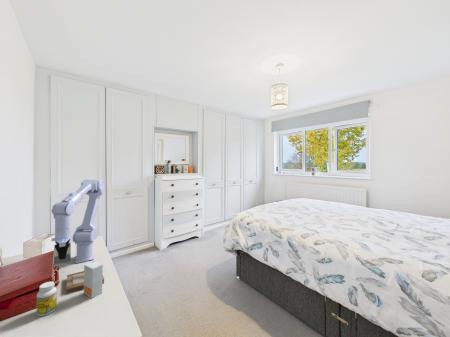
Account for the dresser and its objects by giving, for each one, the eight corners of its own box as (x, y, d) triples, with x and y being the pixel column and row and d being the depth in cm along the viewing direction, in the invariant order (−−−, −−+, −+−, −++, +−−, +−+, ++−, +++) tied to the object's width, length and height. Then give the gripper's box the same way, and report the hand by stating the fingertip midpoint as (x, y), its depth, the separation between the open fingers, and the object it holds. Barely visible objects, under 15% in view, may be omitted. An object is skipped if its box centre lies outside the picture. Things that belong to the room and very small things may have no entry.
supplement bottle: (59, 304, 75) (60, 279, 75) (50, 315, 70) (51, 288, 69) (42, 306, 74) (43, 280, 73) (32, 317, 68) (32, 289, 68)
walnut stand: (66, 279, 91) (66, 274, 91) (100, 270, 99) (100, 266, 99) (66, 294, 81) (66, 289, 81) (103, 283, 89) (103, 278, 89)
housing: (70, 257, 97) (70, 243, 97) (70, 261, 94) (70, 246, 94) (54, 261, 93) (54, 246, 93) (53, 264, 90) (53, 249, 90)
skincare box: (83, 294, 81) (83, 264, 81) (94, 288, 85) (94, 260, 85) (91, 299, 78) (92, 268, 78) (102, 293, 82) (103, 264, 82)
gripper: (52, 225, 96) (52, 253, 97) (50, 234, 85) (49, 265, 85) (71, 223, 101) (70, 249, 101) (71, 231, 89) (70, 261, 90)
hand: (62, 256), depth 93 cm, fingers closed on housing, 4 cm apart
